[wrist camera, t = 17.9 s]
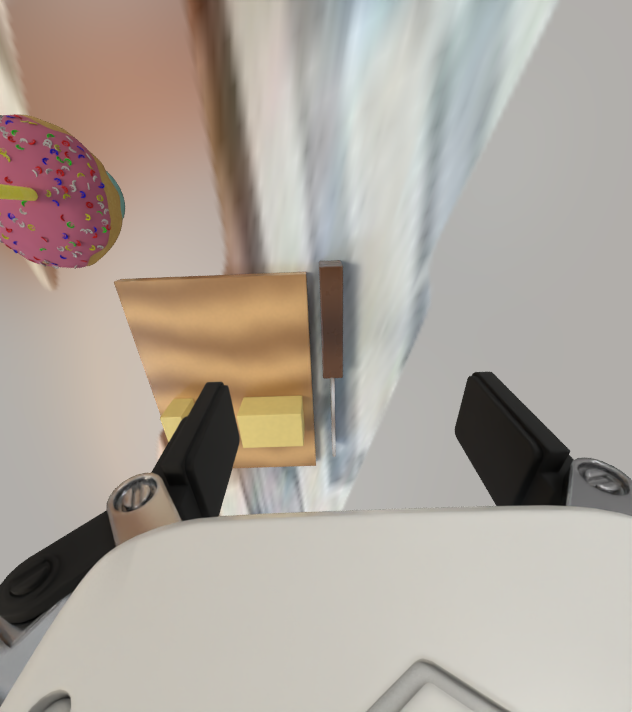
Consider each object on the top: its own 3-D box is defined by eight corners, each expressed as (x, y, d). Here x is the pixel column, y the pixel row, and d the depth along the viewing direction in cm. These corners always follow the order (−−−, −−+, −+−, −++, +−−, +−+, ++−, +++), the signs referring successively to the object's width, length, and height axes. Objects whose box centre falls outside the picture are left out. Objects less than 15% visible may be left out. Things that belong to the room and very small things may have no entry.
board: (120, 279, 25) (113, 281, 24) (306, 271, 25) (305, 274, 24) (183, 463, 35) (179, 470, 35) (315, 459, 35) (316, 465, 34)
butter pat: (173, 398, 30) (159, 417, 27) (192, 397, 30) (180, 416, 27) (182, 429, 32) (170, 449, 29) (201, 428, 32) (191, 449, 29)
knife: (318, 261, 25) (319, 266, 22) (340, 260, 25) (343, 265, 22) (325, 440, 34) (325, 458, 32) (340, 440, 34) (342, 457, 32)
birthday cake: (115, 116, 20) (-105, 19, 10) (170, 244, 24) (55, 276, 13) (6, 149, 21) (-309, 93, 10) (75, 268, 25) (-103, 316, 14)
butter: (243, 397, 30) (236, 416, 27) (302, 395, 30) (301, 413, 27) (248, 427, 32) (242, 448, 29) (304, 425, 32) (303, 446, 29)
